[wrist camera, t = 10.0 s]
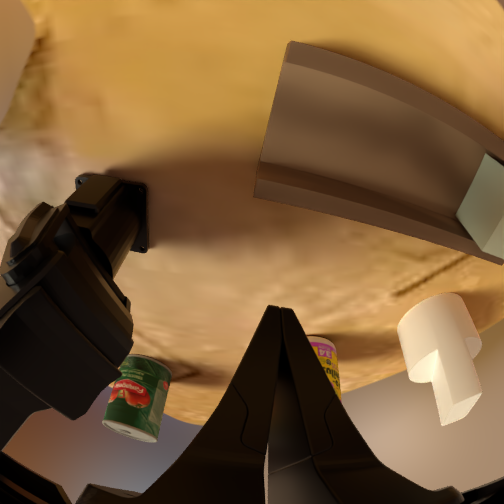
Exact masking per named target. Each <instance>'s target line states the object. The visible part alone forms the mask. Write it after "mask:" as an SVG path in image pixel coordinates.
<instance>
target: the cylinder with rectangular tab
mask: <svg viewBox="0 0 504 504" xmlns="http://www.w3.org/2000/svg"><path fill="white" fill-rule="evenodd" d="M397 333H398V336H399V340H400V344H401V347H402V351H403V355H404V359H405V363H406V367H407V371H408V375H409V378H410V380H411V381H413V382H418V383H426V382H431V381H432V385H433V389H434V393H435V398H436V402H437V406H438V411H439V416H440V421H441V426H444V425H446V424H449V423H452V422H455V421H457V420H459V419H462V418H464V417H465V416H466V415H467V414H468V412H469V411H470V410H471V408H472V407H473V406H474V404H475V403H476V401H477V400H478V398H479V397H480V395H481V394H482V389H481V385H480V382H479V379H478V376H477V373H476V370H475V367H474V364H473V361H472V360H473V359H474V358H475V356H476V355H477V354H478V353H479V351H480V349H481V346H482V342H481V339H480V337H479V334H478V332H477V330H476V327H475V325H474V323H473V321H472V318H471V316H470V314H469V312H468V310H467V308H466V306H465V303H464V301H463V299H462V298H461V297H460V296H459V295H458V294H454V293H441V294H438V295H434V296H431V297H429V298H427V299H425V300H423V301H421V302H420V303H418V304H416V305H415V306H414V307H412V308H411V309H410V310H409V311H408V312H407V313H406V314H405V315H404V316H403V317H402V319H401V320H400V322H399V324H398V328H397Z"/></svg>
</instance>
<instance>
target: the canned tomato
mask: <svg viewBox="0 0 504 504" xmlns="http://www.w3.org/2000/svg"><path fill="white" fill-rule="evenodd" d="M119 370H120V371H121V372H122V376H121V377H120V378H118V379H117V380H116V381H115V384H114V387H113V390H112V393H111V396H110V400H109V403H108V406H107V410H106V412H105V416H104V419H103V421H102V423H103V425H104V426H106V427H107V428H109V429H111V430H112V431H115V432H117V433H119V434H122V435H124V436H127V437H130V438H133V439H136V440H140V441H146V442H157V438H158V434H159V430H160V425H161V420H162V415H163V411H164V406H165V402H166V398H167V393H168V389H169V386H170V381H171V377H172V372H171V370H170V369H169V368H168V367H167V366H166V365H164V364H163V363H161V362H159V361H157V360H155V359H153V358H150V357H147V356H143V355H138V354H129V355H128V356H127V357H126V359H125V360H124V361H123V363H122V364H121V366H120V369H119Z"/></svg>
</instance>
